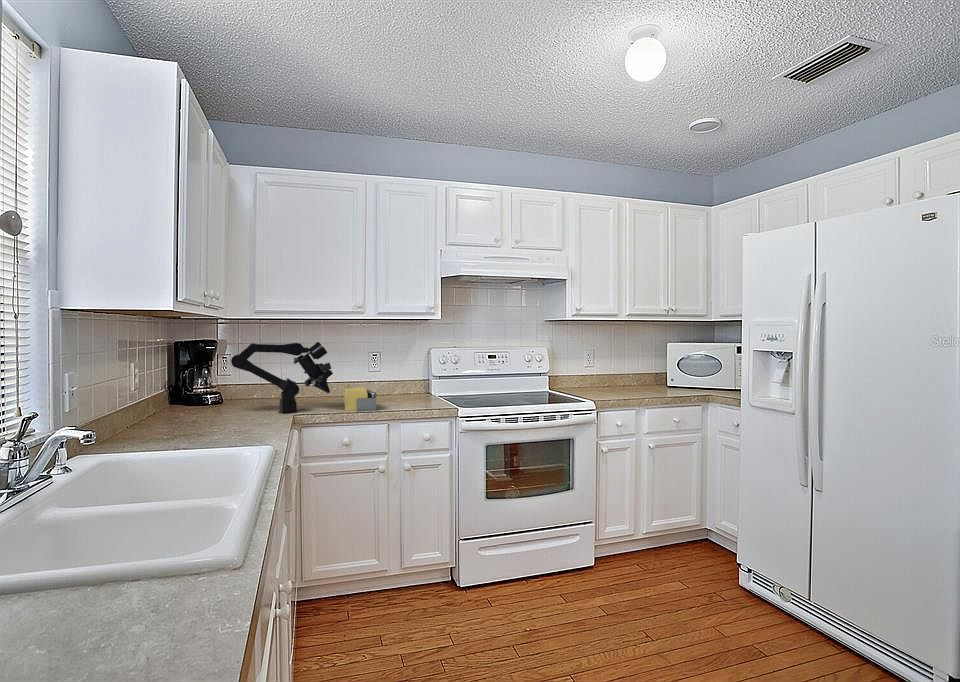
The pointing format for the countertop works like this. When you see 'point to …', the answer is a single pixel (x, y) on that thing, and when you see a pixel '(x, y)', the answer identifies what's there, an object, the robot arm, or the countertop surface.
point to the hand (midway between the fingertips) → (329, 392)
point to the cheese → (354, 397)
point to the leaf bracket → (367, 402)
